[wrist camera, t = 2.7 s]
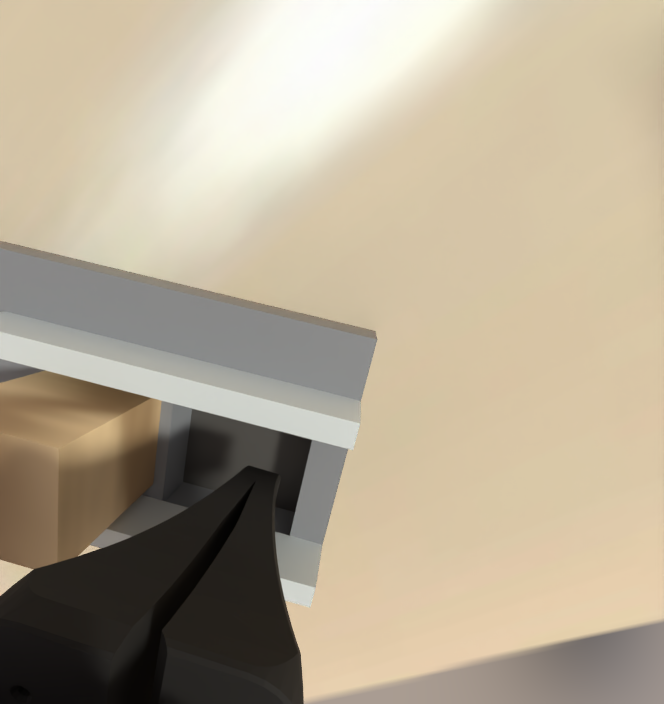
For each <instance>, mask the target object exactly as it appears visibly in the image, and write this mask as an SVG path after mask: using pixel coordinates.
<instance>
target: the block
mask: <svg viewBox="0 0 664 704" xmlns="http://www.w3.org/2000/svg"><path fill="white" fill-rule="evenodd" d="M161 402H162V401H161V400H158V399H154V398H150V397H146V396H142V395H138V394H134V393H131V392H127V391H123V390H119V389H115V388H111V387H107V386H104V385H100V384H96V383H92V382H88V381H84V380H80V379H77V378H73V377H69V376H65V375H61V374H57V373H53V372H50V371H46V370H45V371H42V372H38V373H34V374H31V375H27V376H24V377H20V378H16V379H13V380H9V381H6V382H2V383H0V560H4V561H7V562H11V563H14V564H17V565H21V566H24V567H28V568H31V569H36V568H40V567H43V566H47V565H50V564H54V563H57V562H61V561H64V560H67V559H71V558H74V557H77V556H78V555H79V554H81V553H82V552H83V551H84V550H85V549H86V548H87V547H88V546H89V545H90V544H91V543H92V542H93V541H94V540H95V539H96V538H97V537H98V536H99V535H100V534H101V533H102V532H104V531H105V530H106V529H107V528H108V527H109V526H110V525H111V524H112V523H113V522H114V521H115V520H116V519H117V518H118V517H119V516H120V515H121V514H122V513H123V512H124V511H125V510H126V509H128V508H129V507H130V506H131V505H132V504H133V503H134V502H135V501H136V500H137V499H138V498H139V497H140V496H141V495H142V494H143V493H144V492H145V491H146V490H147V489H148V488H149V487H150V486H152V485H153V481H154V471H155V461H156V452H157V442H158V432H159V422H160V412H161Z"/></svg>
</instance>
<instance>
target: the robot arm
mask: <svg viewBox="0 0 664 704" xmlns="http://www.w3.org/2000/svg"><path fill="white" fill-rule="evenodd" d="M280 480H281V477H280V475H279V474H276V473H273V472H270V471H266V470H263V469H259V468H256V467H253V466H249V465H248V466H246V467H245V468H244V469H242V470H241V471H240V472H239V473H237V474H236V475H235V476H234V477H232V478H231V479H230V480H228V481H227V482H226V483H224V484H223V485H222V486H220V487H219V488H218V489H216V490H215V491H213V492H212V493H210V494H209V495H208V496H206V497H205V498H203V499H201V500H200V501H198V502H197V503H195V504H194V505H192V506H190V507H189V508H187V509H186V510H184V511H182V512H180V513H179V514H177V515H175V516H173V517H172V518H170V519H168V520H166V521H164V522H162V523H160V524H158V525H156V526H154V527H152V528H150V529H148V530H145V531H143V532H141V533H139V534H137V535H134V536H132V537H130V538H128V539H125V540H123V541H120V542H117V543H115V544H112V545H110V546H107V547H104V548H101V549H98V550H96V551H93V552H90V553H87V554H84V555H81V556H78V557H74V558H71V559H67V560H64V561H61V562H57V563H54V564H50V565H47V566H43V567H40V568H36V569H34V570H32V571H31V572H30V573H29V574H27V575H26V576H25V577H23V578H22V579H21V580H19V581H18V582H17V583H15V584H14V585H13V586H12V587H11V588H9V589H8V590H7V591H6V592H5V593H4V594H2V595H1V596H0V704H303V680H302V667H301V654H300V650H299V647H298V644H297V642H296V639H295V635H294V632H293V629H292V626H291V622H290V618H289V615H288V611H287V607H286V603H285V599H284V594H283V589H282V584H281V580H280V574H279V568H278V561H277V552H276V541H275V502H276V496H277V492H278V488H279V484H280Z"/></svg>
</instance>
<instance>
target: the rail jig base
mask: <svg viewBox="0 0 664 704" xmlns="http://www.w3.org/2000/svg"><path fill="white" fill-rule="evenodd" d="M376 342H377V337H376V332H375V331H372V330H368V329H364V328H360V327H356V326H351V325H347V324H343V323H339V322H335V321H331V320H326V319H322V318H318V317H314V316H310V315H306V314H302V313H297V312H293V311H289V310H285V309H281V308H277V307H272V306H268V305H264V304H260V303H256V302H252V301H247V300H243V299H239V298H235V297H231V296H227V295H223V294H218V293H214V292H210V291H206V290H202V289H198V288H193V287H189V286H185V285H181V284H177V283H173V282H169V281H164V280H160V279H156V278H152V277H148V276H144V275H139V274H135V273H131V272H127V271H123V270H119V269H115V268H110V267H106V266H102V265H98V264H94V263H90V262H85V261H81V260H77V259H73V258H69V257H65V256H61V255H56V254H52V253H48V252H44V251H40V250H36V249H31V248H27V247H23V246H19V245H15V244H11V243H6V242H2V241H0V383H2V382H6V381H9V380H13V379H16V378H20V377H24V376H27V375H31V374H34V373H38V372H42V371H45V370H46V371H50V372H53V373H57V374H61V375H65V376H69V377H73V378H77V379H80V380H84V381H88V382H92V383H96V384H100V385H104V386H107V387H111V388H115V389H119V390H123V391H127V392H131V393H134V394H138V395H142V396H146V397H150V398H154V399H158V400H161V401H162V402H161V412H160V422H159V432H158V442H157V452H156V461H155V471H154V481H153V485H152V486H150V487H149V488H148V489H147V490H146V491H145V492H144V493H143V494H142V495H141V496H140V497H139V498H138V499H137V500H136V501H135V502H134V503H133V504H132V505H131V506H130V507H129V508H128V509H126V510H125V511H124V512H123V513H122V514H121V515H120V516H119V517H118V518H117V519H116V520H115V521H114V522H113V523H112V524H111V525H110V526H109V527H108V528H107V529H106V530H105V531H104V532H102V533H101V534H100V535H99V536H98V537H97V538H96V539H95V540H94V541H93V542H92V543H91V544H90V545H92V546H96V547H99V548H104V547H107V546H110V545H112V544H115V543H117V542H120V541H123V540H125V539H128V538H130V537H132V536H134V535H137V534H139V533H141V532H143V531H145V530H148V529H150V528H152V527H154V526H156V525H158V524H160V523H162V522H164V521H166V520H168V519H170V518H172V517H173V516H175V515H177V514H179V513H180V512H182V511H184V510H186V509H187V508H189V507H190V506H192V505H194V504H195V503H197V502H198V501H200V500H201V499H203V498H205V497H206V496H208V495H209V494H210V493H212V492H213V491H215V490H216V489H218V488H219V487H220V486H222V485H223V484H224V483H226V482H227V481H228V480H230V479H231V478H232V477H234V476H235V475H236V474H237V473H239V472H240V471H241V470H242V469H244V468H245V467H246V466H248V465H249V466H253V467H256V468H259V469H263V470H266V471H270V472H273V473H276V474H279V475H280V477H281V480H280V484H279V488H278V492H277V496H276V502H275V541H276V552H277V561H278V568H279V574H280V580H281V584H282V589H283V594H284V599H285V601H289V602H292V603H296V604H299V605H303V606H306V607H310V606H311V603H312V599H313V595H314V592H315V588H316V582H317V575H318V569H319V563H320V556H321V550H322V544H323V540H324V537H325V533H326V529H327V525H328V522H329V518H330V514H331V510H332V507H333V503H334V499H335V495H336V492H337V488H338V484H339V480H340V477H341V473H342V469H343V466H344V462H345V458H346V454H347V451H348V449H350V450H353V448H354V445H355V441H356V437H357V433H358V430H359V426H360V412H361V398H362V394H363V391H364V387H365V383H366V379H367V376H368V372H369V368H370V364H371V361H372V357H373V353H374V349H375V346H376Z"/></svg>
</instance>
